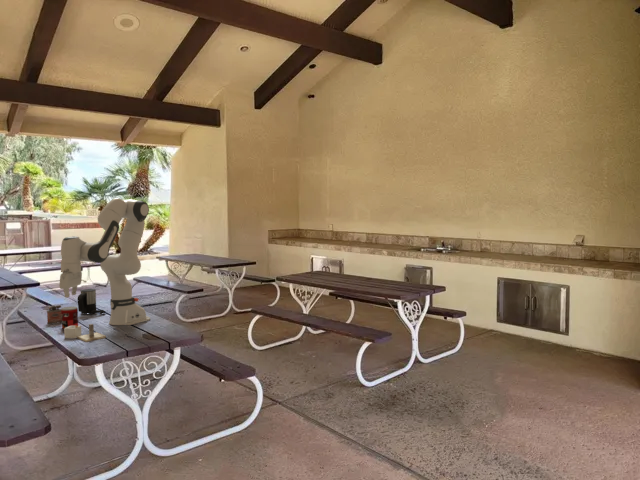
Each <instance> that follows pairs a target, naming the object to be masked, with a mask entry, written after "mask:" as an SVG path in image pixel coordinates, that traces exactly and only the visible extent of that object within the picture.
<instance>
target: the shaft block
mask: <svg viewBox="0 0 640 480" xmlns="http://www.w3.org/2000/svg"><path fill="white" fill-rule="evenodd" d="M94 331H95V329H94V323H90V324H88V334H81V336H77V339H78V340H80V341H83V342H85V343H88V342H92V341H97V340H101V339H105V338H107V335H105V334H102V333H99V332H98V331H97V332H94Z"/></svg>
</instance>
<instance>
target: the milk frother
mask: <svg viewBox="0 0 640 480" xmlns="http://www.w3.org/2000/svg"><path fill="white" fill-rule="evenodd" d="M77 308H78V312H80V314H81V313H84V314H83V315H88V314H87V313H93V314H101V313H106V310H104V309H97V289H96V288H84V289H81V290H80V293H79V295H78V296H77Z"/></svg>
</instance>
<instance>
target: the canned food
mask: <svg viewBox="0 0 640 480" xmlns="http://www.w3.org/2000/svg"><path fill="white" fill-rule="evenodd" d="M60 309H61V316H62V322H61V327H62V329H63V330H64V328H66V327H69V326H79V313H78V312H79V310H78V306H65V307H61V308H60Z"/></svg>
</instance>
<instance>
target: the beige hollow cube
mask: <svg viewBox="0 0 640 480" xmlns="http://www.w3.org/2000/svg"><path fill="white" fill-rule="evenodd" d="M63 330H64V331H63V332H64V339H76V338H77V336H81V335H82V325H78V326H69V327H66V328H64V329H63ZM77 339H78V338H77Z"/></svg>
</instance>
